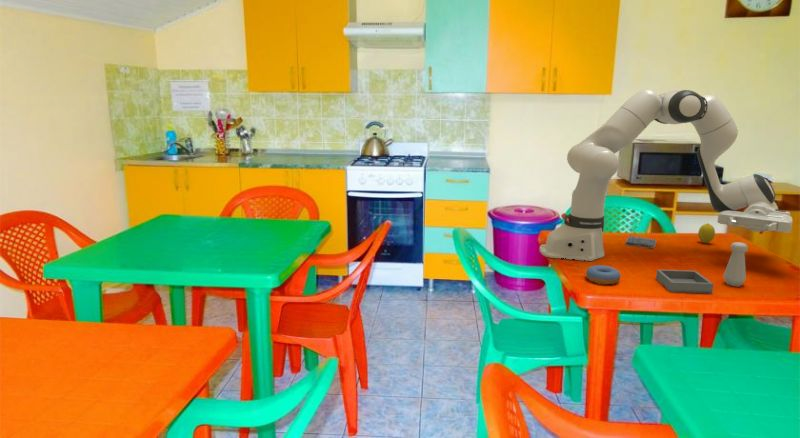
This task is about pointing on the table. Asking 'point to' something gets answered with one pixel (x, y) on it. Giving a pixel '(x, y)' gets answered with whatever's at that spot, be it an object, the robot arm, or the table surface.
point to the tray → (684, 281)
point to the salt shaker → (736, 265)
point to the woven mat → (641, 242)
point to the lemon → (706, 233)
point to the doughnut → (603, 274)
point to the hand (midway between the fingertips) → (749, 225)
